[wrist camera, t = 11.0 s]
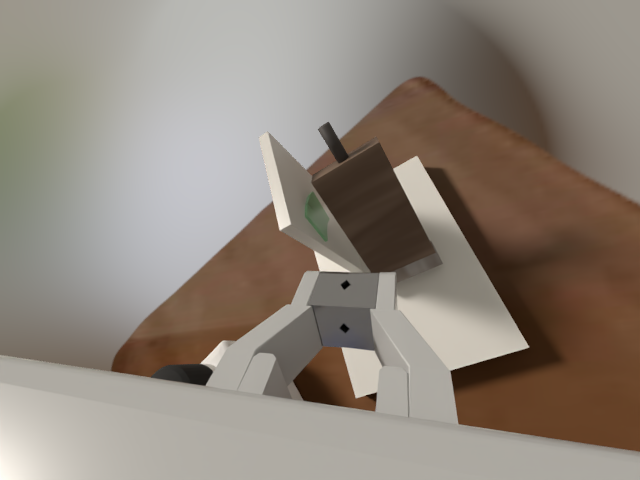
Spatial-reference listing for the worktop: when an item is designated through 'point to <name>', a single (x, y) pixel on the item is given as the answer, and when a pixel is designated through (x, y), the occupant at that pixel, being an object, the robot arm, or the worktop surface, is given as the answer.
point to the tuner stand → (413, 293)
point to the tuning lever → (374, 209)
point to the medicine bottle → (205, 370)
